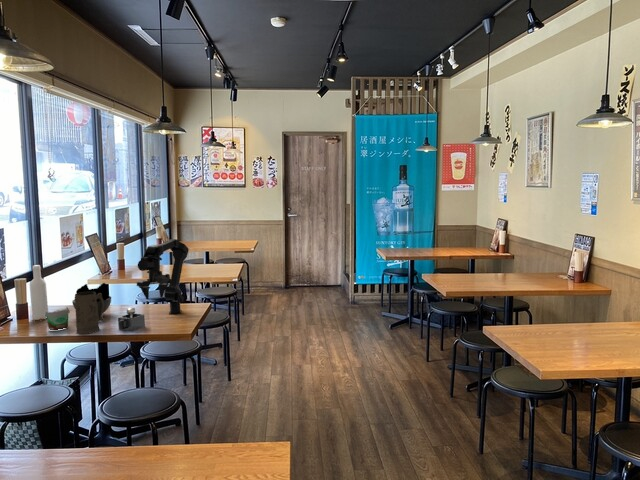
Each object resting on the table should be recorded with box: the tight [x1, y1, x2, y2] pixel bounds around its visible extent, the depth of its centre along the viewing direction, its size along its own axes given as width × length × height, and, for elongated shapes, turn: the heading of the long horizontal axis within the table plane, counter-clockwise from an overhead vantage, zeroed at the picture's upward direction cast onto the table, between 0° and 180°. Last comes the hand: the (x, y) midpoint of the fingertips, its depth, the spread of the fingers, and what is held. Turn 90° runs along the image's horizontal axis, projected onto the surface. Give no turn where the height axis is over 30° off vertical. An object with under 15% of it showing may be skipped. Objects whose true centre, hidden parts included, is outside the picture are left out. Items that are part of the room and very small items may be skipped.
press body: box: [117, 312, 146, 332], centre depth 265 cm, size 12×9×6 cm
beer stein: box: [74, 292, 104, 335], centre depth 264 cm, size 15×11×20 cm
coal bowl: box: [71, 282, 112, 315], centre depth 290 cm, size 20×20×19 cm
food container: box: [45, 306, 70, 330], centre depth 267 cm, size 12×6×10 cm, turn 148°
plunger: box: [126, 307, 136, 318], centre depth 266 cm, size 7×7×10 cm
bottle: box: [29, 264, 49, 319], centre depth 287 cm, size 8×8×30 cm
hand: (154, 298), depth 277 cm, fingers open, 9 cm apart
